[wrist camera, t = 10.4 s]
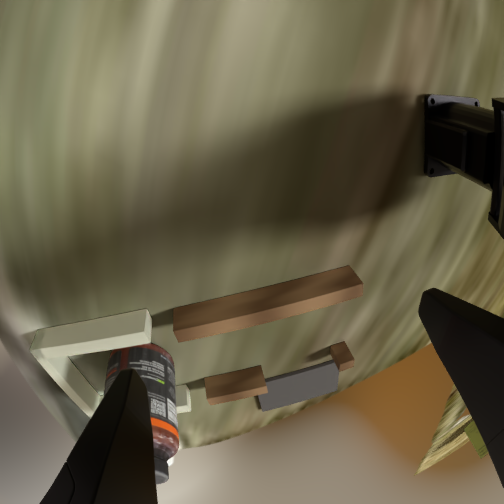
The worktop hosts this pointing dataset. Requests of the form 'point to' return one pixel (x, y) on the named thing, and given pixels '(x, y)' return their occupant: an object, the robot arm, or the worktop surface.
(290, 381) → the mat
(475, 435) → the protein box
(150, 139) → the worktop surface
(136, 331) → the dock
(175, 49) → the worktop surface
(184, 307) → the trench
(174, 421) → the supplement bottle
